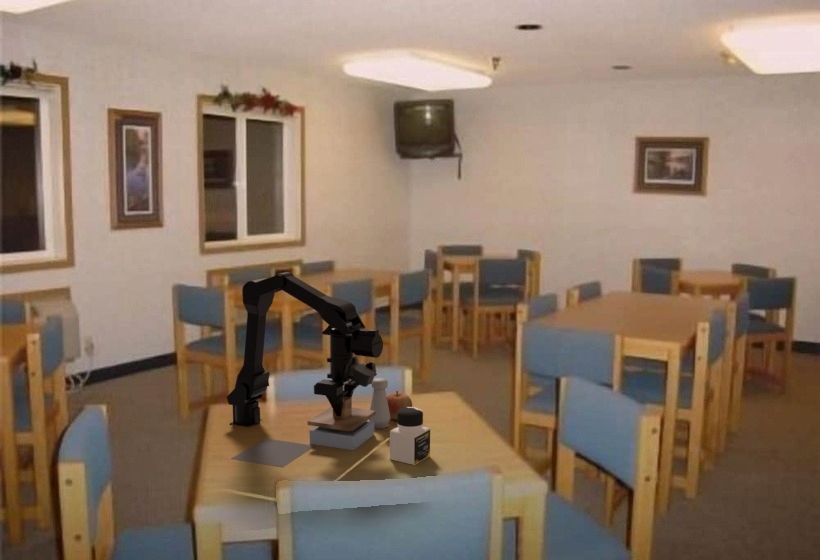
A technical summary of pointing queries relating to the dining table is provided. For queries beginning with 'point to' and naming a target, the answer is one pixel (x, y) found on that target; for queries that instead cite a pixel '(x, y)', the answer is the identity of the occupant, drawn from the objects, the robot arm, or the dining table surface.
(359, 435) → the blue-grey open box
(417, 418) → the medicine bottle
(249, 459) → the mat
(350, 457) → the dining table surface
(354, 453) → the dining table surface
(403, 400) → the apple
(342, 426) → the lid
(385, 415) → the salt shaker
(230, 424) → the robot arm
